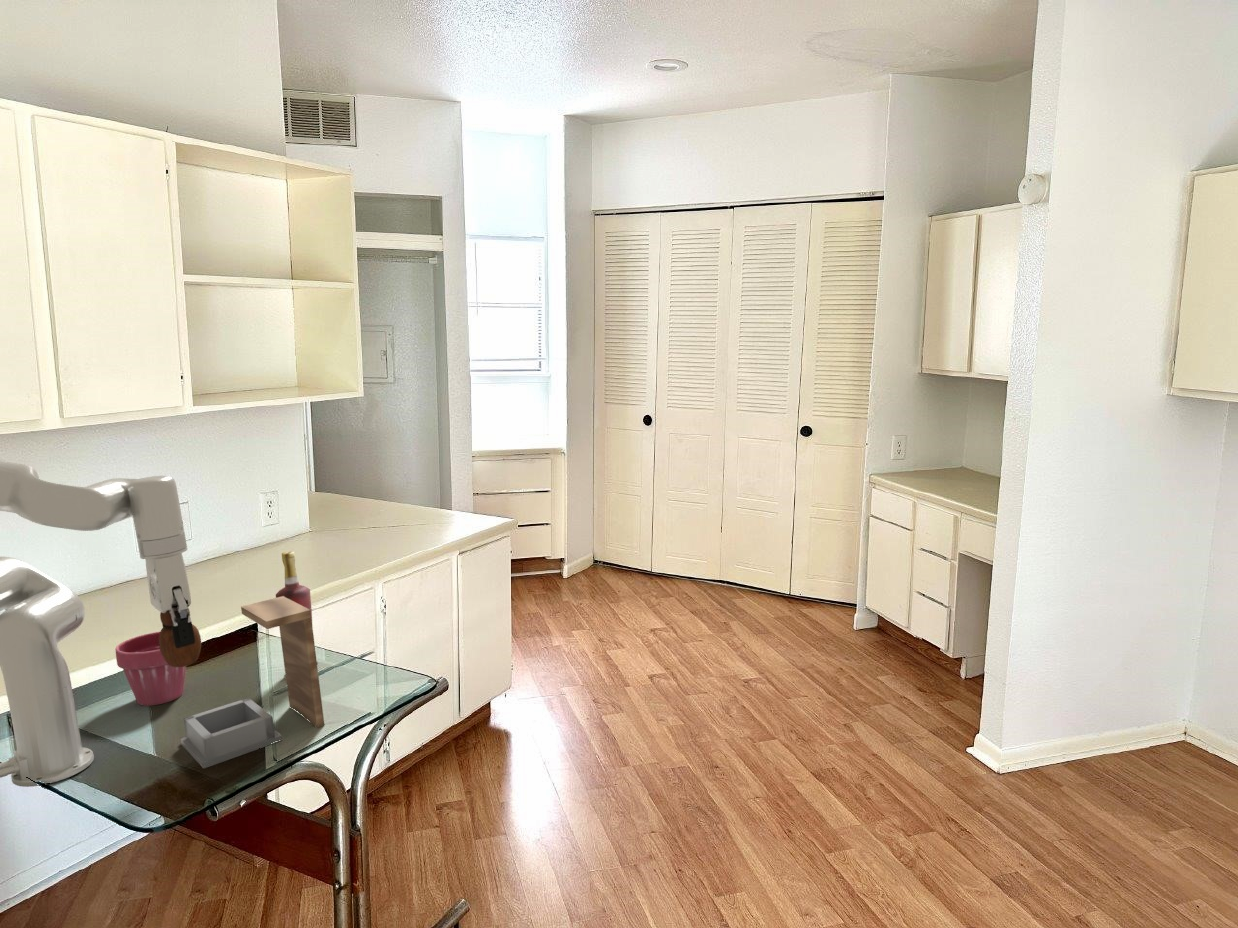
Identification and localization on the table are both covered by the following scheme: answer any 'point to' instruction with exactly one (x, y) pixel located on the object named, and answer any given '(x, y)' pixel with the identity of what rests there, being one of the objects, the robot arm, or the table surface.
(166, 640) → the wooden figurine
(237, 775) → the table surface
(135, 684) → the plant pot
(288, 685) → the wooden l-shaped stand
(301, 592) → the liquor
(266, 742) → the socket
